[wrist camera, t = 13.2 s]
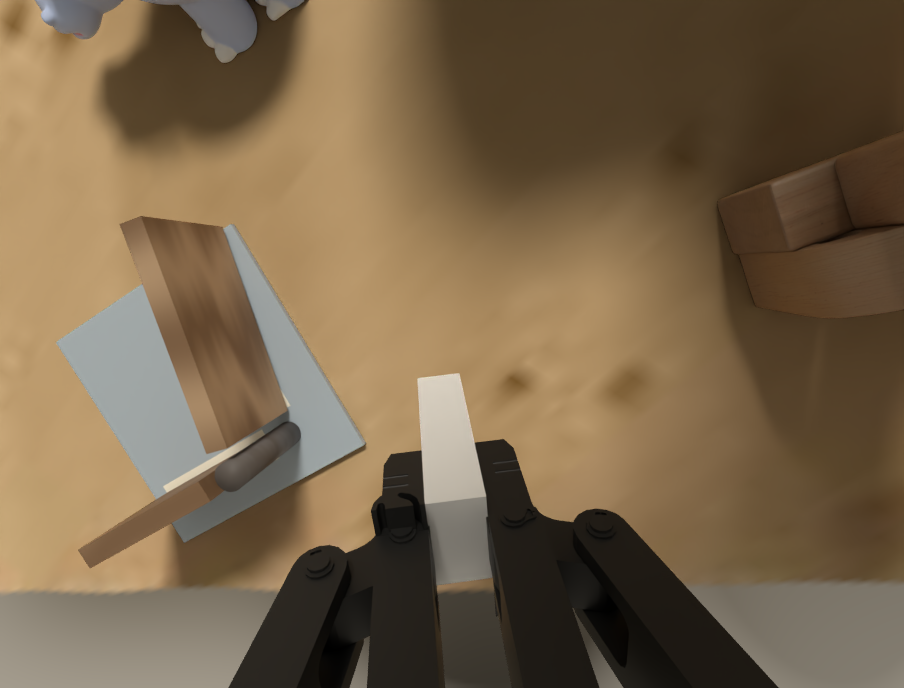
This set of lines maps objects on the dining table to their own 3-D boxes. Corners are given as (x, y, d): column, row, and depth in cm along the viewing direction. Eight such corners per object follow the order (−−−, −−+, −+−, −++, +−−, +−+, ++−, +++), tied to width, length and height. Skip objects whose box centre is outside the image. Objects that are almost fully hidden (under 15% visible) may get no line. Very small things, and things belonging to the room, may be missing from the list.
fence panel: (287, 410, 33) (227, 448, 26) (270, 415, 33) (206, 454, 26) (222, 226, 32) (140, 216, 25) (205, 233, 32) (119, 224, 25)
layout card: (61, 341, 35) (55, 342, 35) (234, 224, 32) (230, 224, 32) (187, 539, 36) (184, 542, 36) (365, 443, 33) (364, 445, 33)
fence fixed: (169, 487, 36) (75, 546, 28) (295, 415, 34) (230, 458, 26) (181, 507, 36) (91, 571, 28) (308, 436, 34) (247, 485, 26)
